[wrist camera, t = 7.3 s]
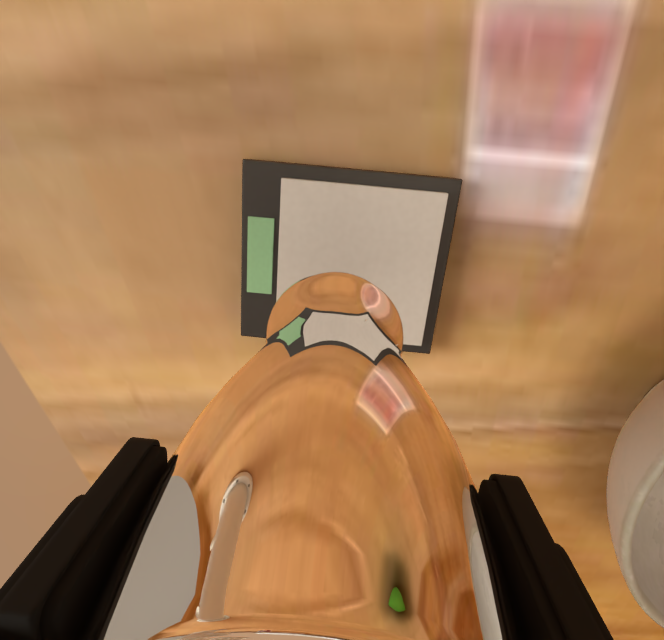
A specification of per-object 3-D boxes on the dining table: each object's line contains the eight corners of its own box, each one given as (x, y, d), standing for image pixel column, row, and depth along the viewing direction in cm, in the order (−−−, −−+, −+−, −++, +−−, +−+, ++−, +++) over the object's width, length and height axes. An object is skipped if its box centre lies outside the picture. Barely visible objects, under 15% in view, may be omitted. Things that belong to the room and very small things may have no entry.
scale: (246, 327, 38) (238, 339, 35) (248, 159, 33) (239, 159, 30) (426, 344, 38) (431, 358, 35) (456, 178, 32) (465, 180, 30)
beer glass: (376, 421, 21) (429, 973, 7) (239, 374, 20) (-16, 873, 6) (438, 293, 18) (726, 741, 4) (285, 236, 18) (36, 537, 4)
